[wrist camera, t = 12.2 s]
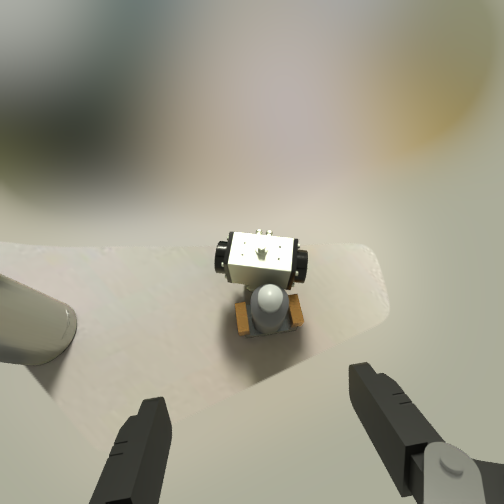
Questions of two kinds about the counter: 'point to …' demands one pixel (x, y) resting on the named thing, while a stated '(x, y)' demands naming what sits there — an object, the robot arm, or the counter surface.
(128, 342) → the counter surface
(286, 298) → the bottle
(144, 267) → the counter surface
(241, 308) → the clip bracket
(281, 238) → the pneumatic valve
